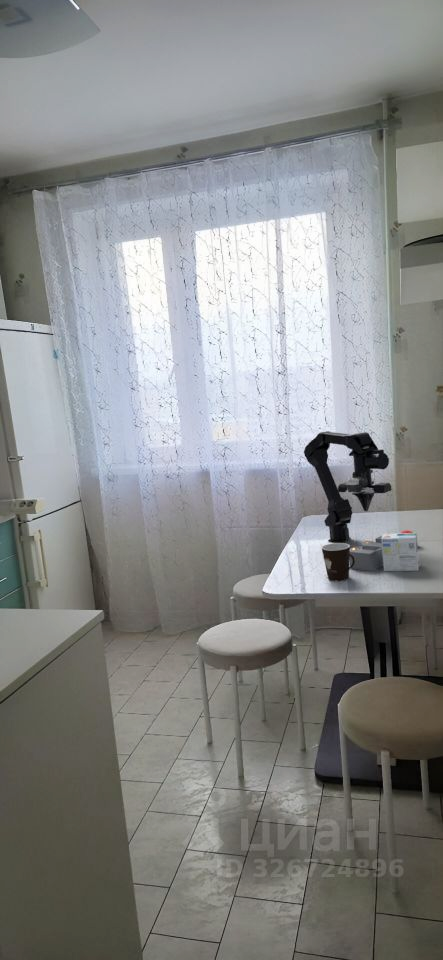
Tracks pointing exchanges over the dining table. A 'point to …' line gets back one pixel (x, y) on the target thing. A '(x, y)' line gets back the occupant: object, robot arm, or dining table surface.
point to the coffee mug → (337, 561)
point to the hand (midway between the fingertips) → (366, 511)
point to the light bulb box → (400, 552)
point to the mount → (368, 556)
